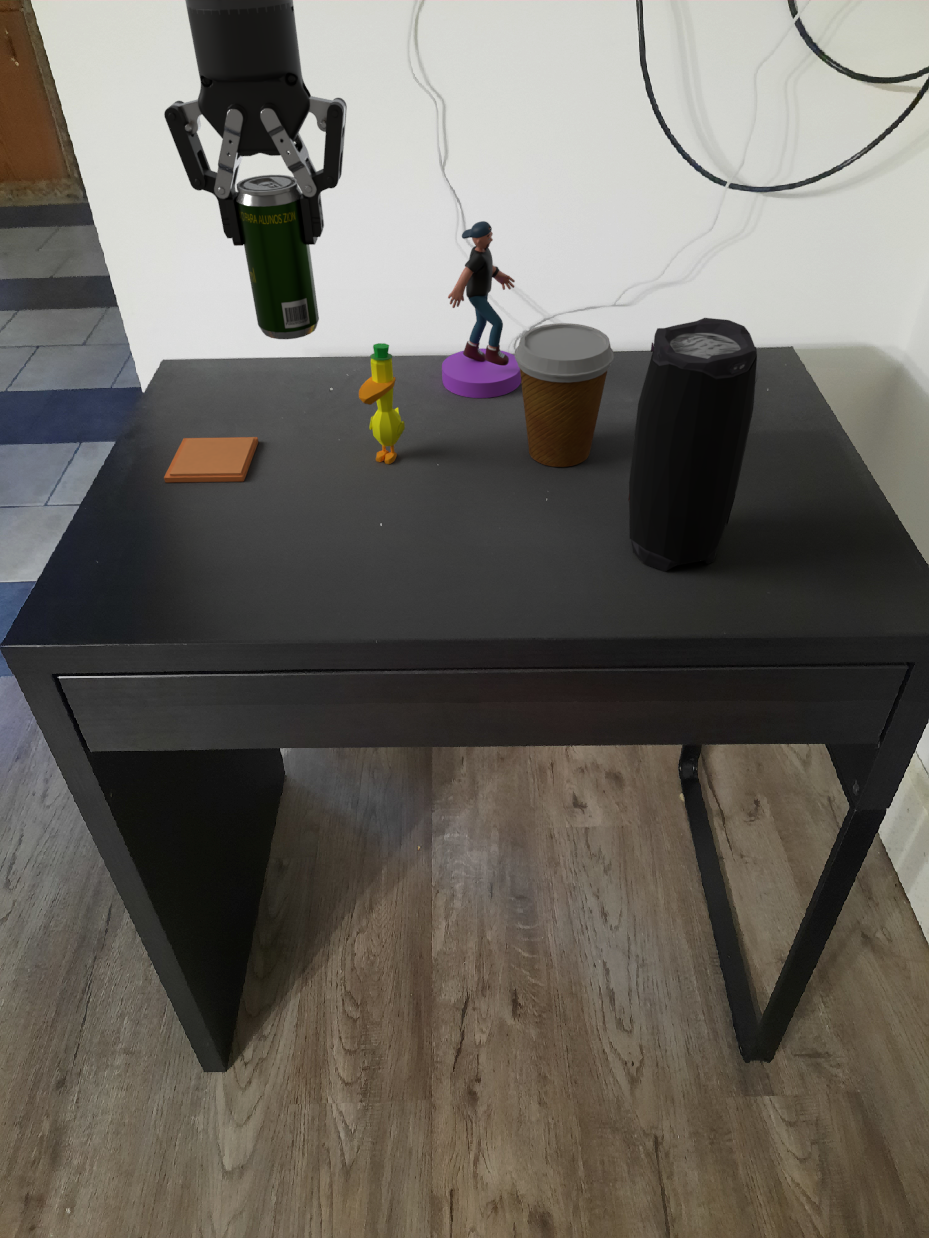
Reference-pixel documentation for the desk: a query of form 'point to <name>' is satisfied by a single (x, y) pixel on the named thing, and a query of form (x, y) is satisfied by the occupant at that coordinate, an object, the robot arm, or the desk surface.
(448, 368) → the figurine
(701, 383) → the portable speaker
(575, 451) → the disposable coffee cup
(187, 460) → the orange square panel
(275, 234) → the beer can
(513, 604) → the desk surface
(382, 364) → the toy figure
